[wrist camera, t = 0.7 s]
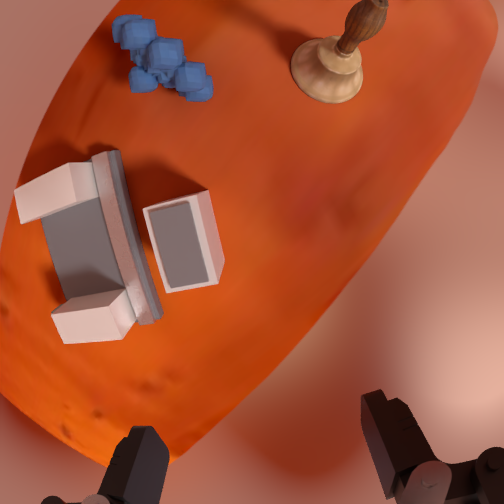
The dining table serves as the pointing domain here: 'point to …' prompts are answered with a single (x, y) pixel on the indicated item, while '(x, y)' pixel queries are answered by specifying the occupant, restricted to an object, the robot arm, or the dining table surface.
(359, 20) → the hand bell
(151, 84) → the grapes
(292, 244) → the dining table surface
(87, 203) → the rail board
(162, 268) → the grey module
